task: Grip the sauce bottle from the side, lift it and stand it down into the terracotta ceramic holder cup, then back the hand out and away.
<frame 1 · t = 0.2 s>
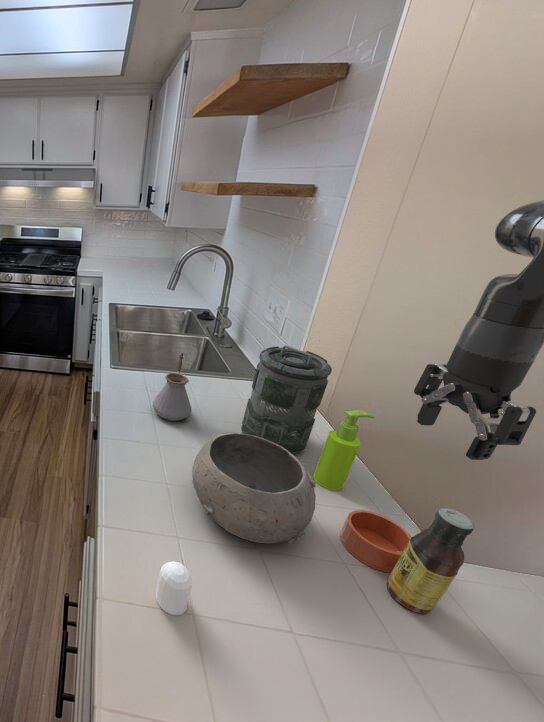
hand: (447, 440, 61), 30 cm above the worktop, tool pointing down, fingers open, 8 cm apart
sauce bottle: (407, 599, 68), on the worktop
canister: (271, 439, 109), on the worktop
coffee pot: (172, 406, 124), on the worktop
soap dispenser: (329, 482, 94), on the worktop
bowl: (241, 512, 85), on the worktop
holder: (371, 549, 77), on the worktop
capsule: (171, 600, 68), on the worktop
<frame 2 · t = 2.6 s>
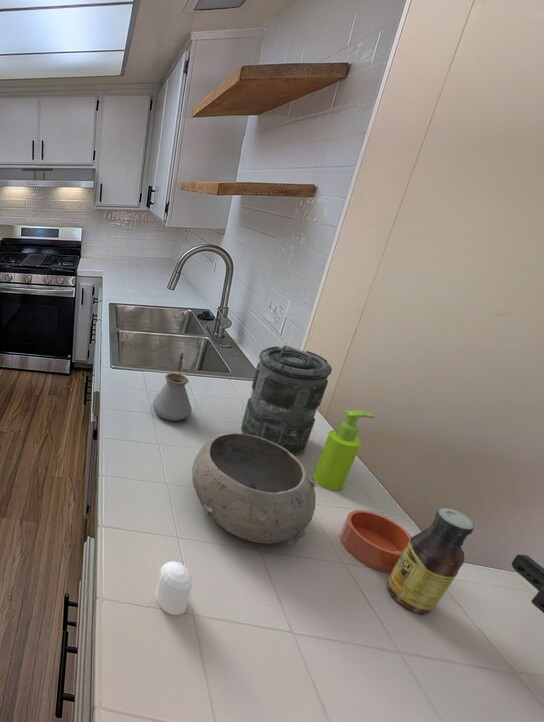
nothing on the worktop moved.
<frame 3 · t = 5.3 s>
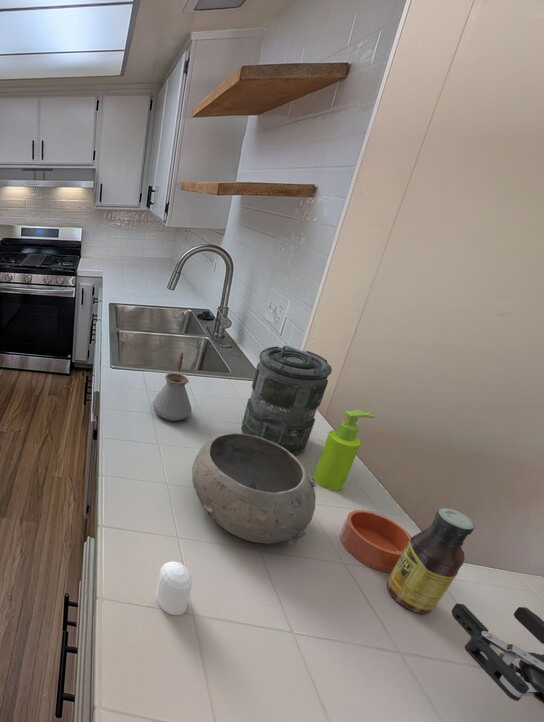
hand: (487, 608, 55), 11 cm above the worktop, tool horizontal, fingers open, 8 cm apart
nothing on the worktop moved.
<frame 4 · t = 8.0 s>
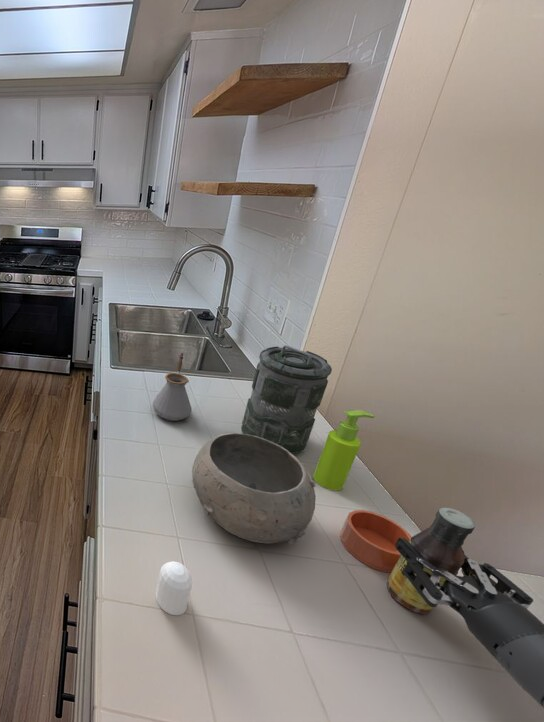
hand: (420, 542, 65), 11 cm above the worktop, tool horizontal, fingers closed on sauce bottle, 6 cm apart
sauce bottle: (407, 599, 68), on the worktop, touching gripper
everything else where it was.
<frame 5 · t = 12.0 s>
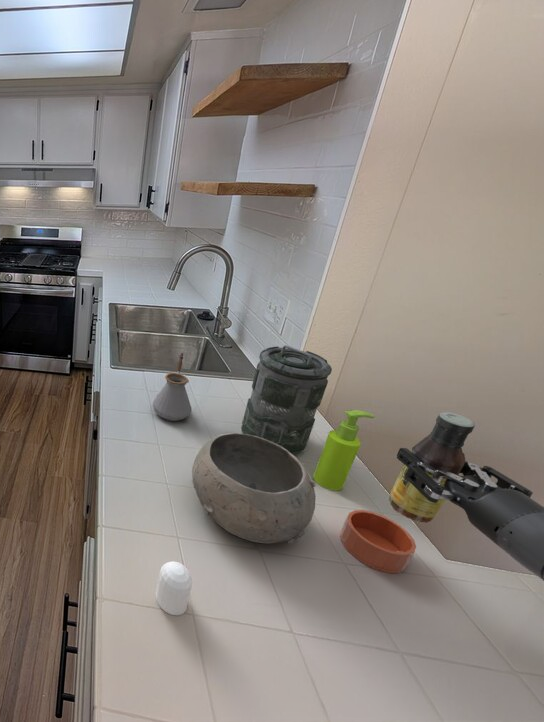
hand: (421, 452, 66), 25 cm above the worktop, tool horizontal, fingers closed on sauce bottle, 6 cm apart
sauce bottle: (409, 511, 69), point 13 cm above the worktop, touching gripper
everything else where it was.
when the fingers open (12 cm above the worktop, at t = 16.4 s): sauce bottle stays where it is, resting on holder.
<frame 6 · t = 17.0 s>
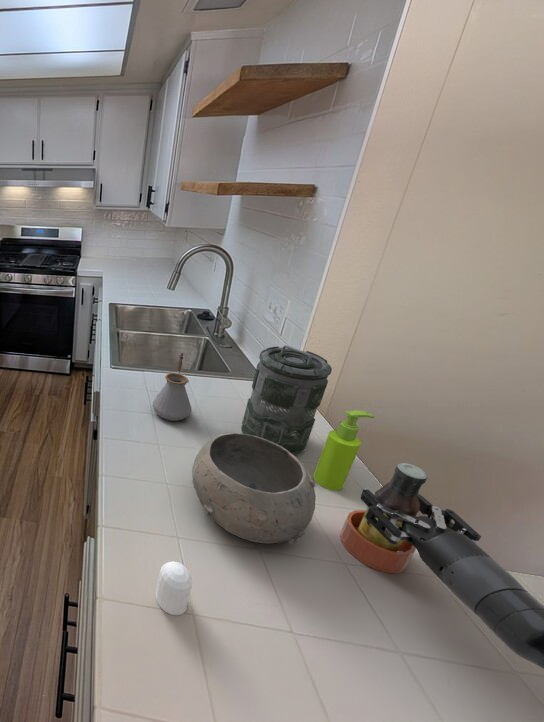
hand: (386, 493, 73), 13 cm above the worktop, tool horizontal, fingers open, 8 cm apart
sauce bottle: (373, 547, 76), point 1 cm above the worktop, touching holder
everything else where it was.
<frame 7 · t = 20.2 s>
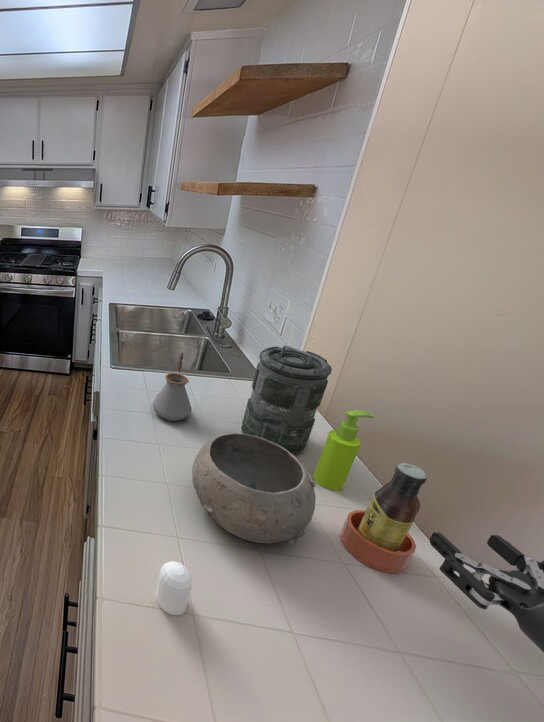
hand: (462, 537, 60), 17 cm above the worktop, tool horizontal, fingers open, 8 cm apart
nothing on the worktop moved.
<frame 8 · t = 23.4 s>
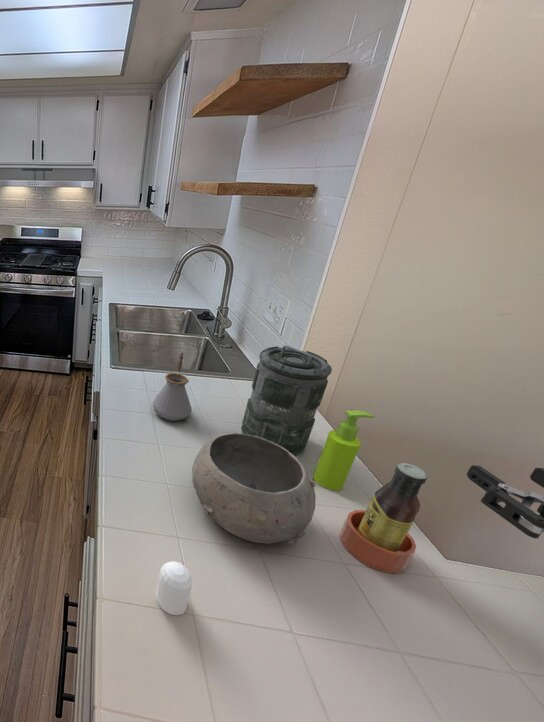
hand: (502, 471, 55), 30 cm above the worktop, tool horizontal, fingers open, 8 cm apart
nothing on the worktop moved.
at the end: sauce bottle 0.2 cm off-centre in the holder, point 0.6 cm above the holder's base; sauce bottle tilted 0°; the gripper is holding nothing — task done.
